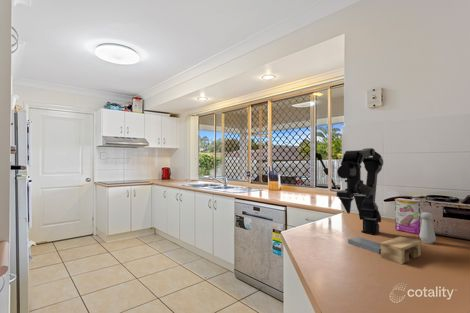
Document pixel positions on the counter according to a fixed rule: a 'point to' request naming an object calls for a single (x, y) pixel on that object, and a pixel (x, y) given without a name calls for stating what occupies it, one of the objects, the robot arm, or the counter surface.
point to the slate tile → (366, 244)
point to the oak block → (400, 249)
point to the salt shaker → (427, 229)
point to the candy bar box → (408, 215)
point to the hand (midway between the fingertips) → (354, 212)
